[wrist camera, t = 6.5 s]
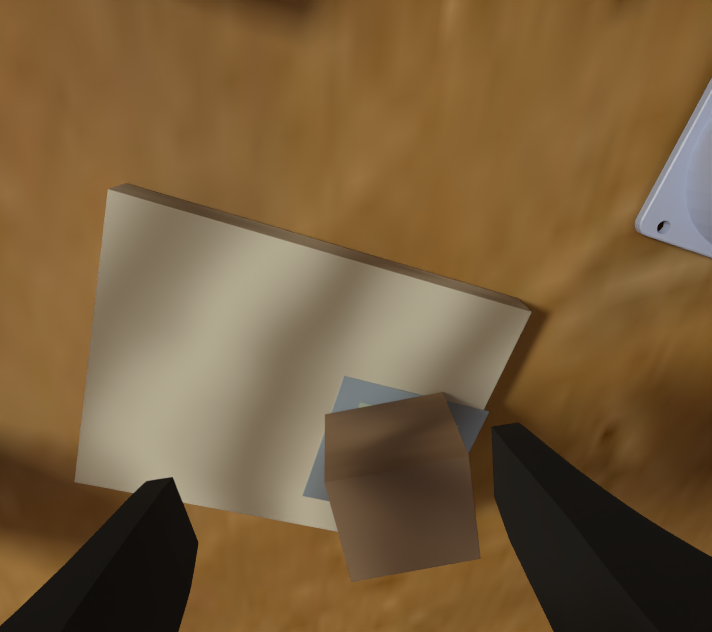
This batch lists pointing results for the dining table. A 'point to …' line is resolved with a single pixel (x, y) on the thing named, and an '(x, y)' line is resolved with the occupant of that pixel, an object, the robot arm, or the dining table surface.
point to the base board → (264, 354)
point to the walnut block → (400, 487)
